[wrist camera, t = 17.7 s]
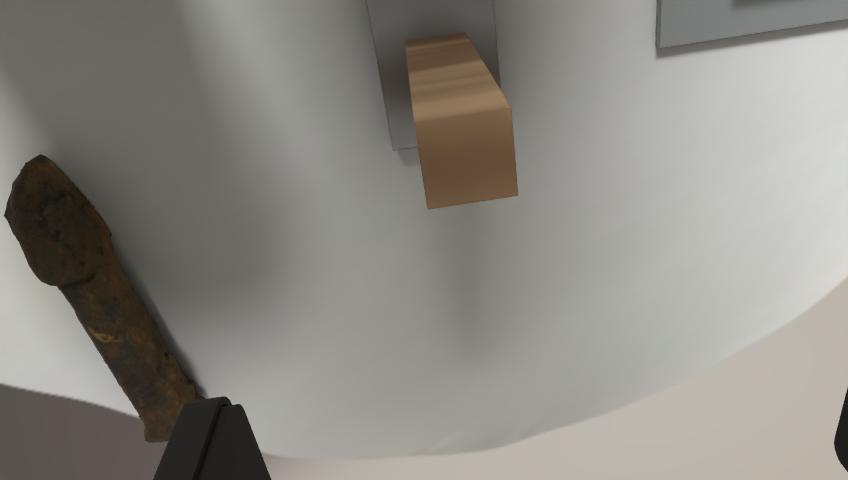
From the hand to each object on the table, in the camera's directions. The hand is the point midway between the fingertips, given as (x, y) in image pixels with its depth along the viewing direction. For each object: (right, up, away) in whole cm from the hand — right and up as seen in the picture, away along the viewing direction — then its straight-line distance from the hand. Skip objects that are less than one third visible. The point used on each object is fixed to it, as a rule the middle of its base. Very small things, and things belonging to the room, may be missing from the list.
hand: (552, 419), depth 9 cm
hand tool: (-21, -1, +29) cm, 36 cm away
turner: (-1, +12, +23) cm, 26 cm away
